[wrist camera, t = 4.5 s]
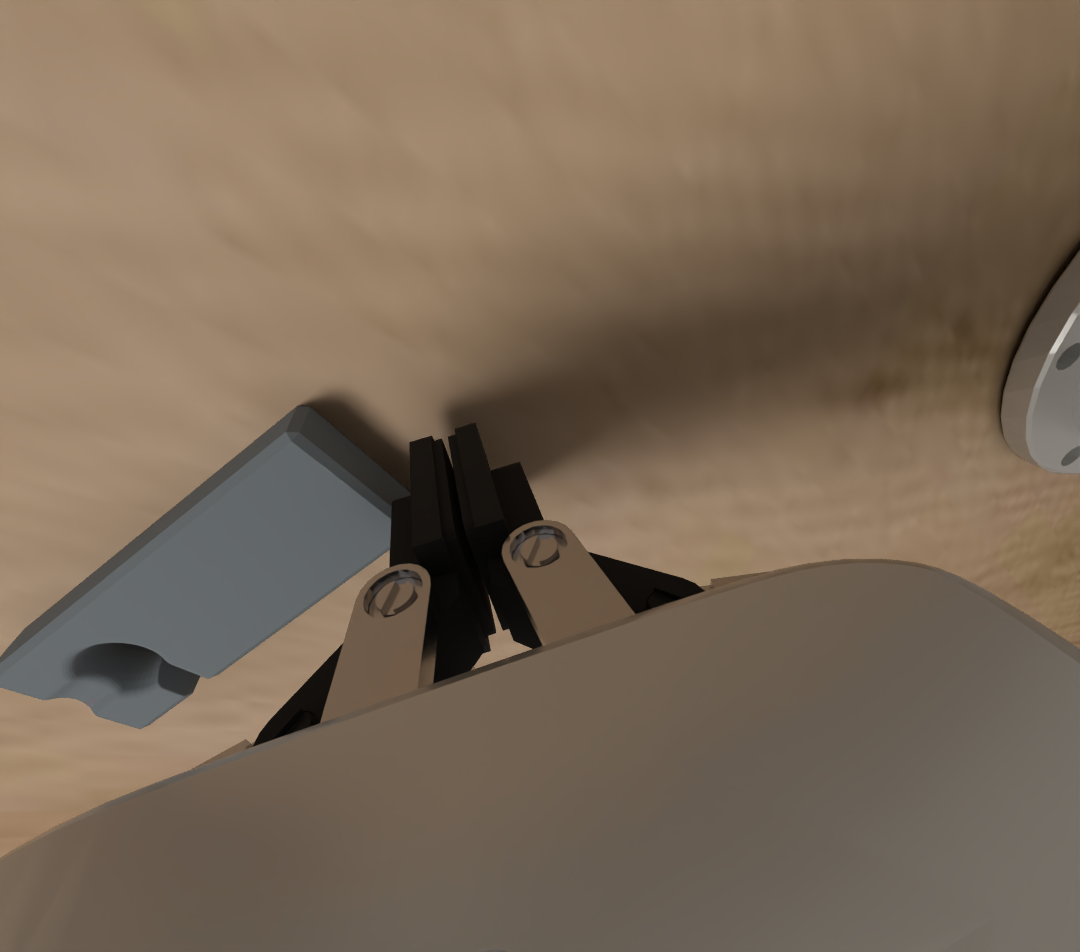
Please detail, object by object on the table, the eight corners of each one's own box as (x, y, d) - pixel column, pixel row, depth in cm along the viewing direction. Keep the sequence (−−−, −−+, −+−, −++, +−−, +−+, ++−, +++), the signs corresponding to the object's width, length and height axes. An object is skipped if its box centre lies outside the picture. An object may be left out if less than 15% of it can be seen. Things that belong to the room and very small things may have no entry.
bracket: (418, 490, 13) (419, 533, 12) (171, 674, 15) (142, 735, 13) (306, 392, 11) (288, 428, 10) (30, 620, 13) (-27, 685, 11)
